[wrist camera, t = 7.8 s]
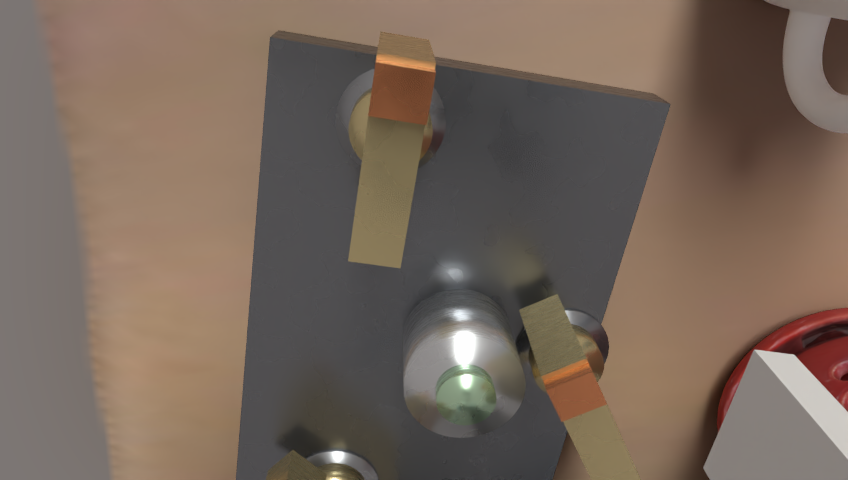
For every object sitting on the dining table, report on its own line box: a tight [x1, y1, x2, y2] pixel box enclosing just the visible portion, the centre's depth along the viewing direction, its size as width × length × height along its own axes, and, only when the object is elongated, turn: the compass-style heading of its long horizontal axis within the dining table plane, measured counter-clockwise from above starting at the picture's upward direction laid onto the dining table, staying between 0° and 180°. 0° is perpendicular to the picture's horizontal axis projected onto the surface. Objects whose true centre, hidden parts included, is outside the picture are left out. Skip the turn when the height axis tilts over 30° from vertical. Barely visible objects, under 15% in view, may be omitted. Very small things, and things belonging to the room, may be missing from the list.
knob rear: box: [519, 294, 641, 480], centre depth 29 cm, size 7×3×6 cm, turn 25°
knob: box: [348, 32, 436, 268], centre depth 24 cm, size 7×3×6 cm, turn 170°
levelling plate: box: [236, 31, 670, 480], centre depth 30 cm, size 24×17×7 cm
